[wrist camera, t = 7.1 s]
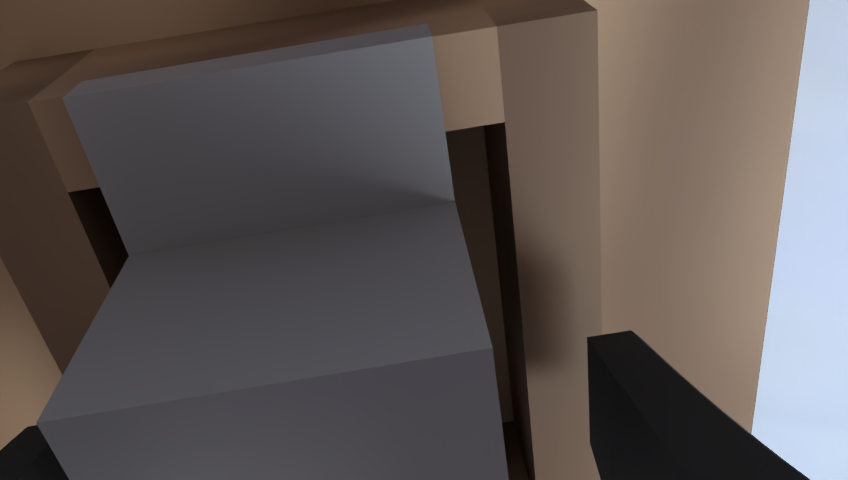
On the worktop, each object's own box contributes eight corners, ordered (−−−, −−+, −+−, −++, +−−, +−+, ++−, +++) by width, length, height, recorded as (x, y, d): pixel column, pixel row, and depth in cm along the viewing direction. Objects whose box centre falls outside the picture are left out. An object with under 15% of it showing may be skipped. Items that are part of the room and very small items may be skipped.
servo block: (413, -18, 10) (482, 178, 4) (482, 459, 15) (559, 849, 9) (143, 27, 10) (-151, 284, 4) (301, 488, 15) (264, 896, 9)
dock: (809, -310, 10) (1004, -374, 7) (721, 480, 18) (793, 608, 15) (-334, -125, 10) (-635, -108, 7) (97, 579, 18) (44, 727, 15)
